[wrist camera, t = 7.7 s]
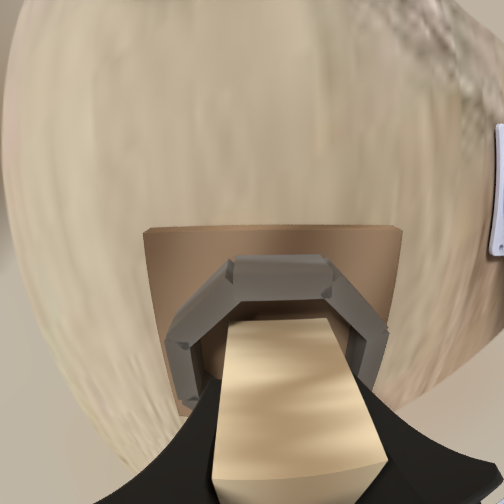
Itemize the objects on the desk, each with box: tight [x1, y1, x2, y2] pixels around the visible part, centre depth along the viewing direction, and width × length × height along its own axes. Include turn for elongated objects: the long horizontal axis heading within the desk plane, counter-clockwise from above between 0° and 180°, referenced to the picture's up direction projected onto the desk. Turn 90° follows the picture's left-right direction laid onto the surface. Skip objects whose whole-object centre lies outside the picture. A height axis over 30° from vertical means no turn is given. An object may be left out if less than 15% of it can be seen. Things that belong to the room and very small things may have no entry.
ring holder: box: [143, 225, 403, 417], centre depth 12 cm, size 11×11×3 cm
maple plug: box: [212, 318, 388, 504], centre depth 8 cm, size 4×4×7 cm
